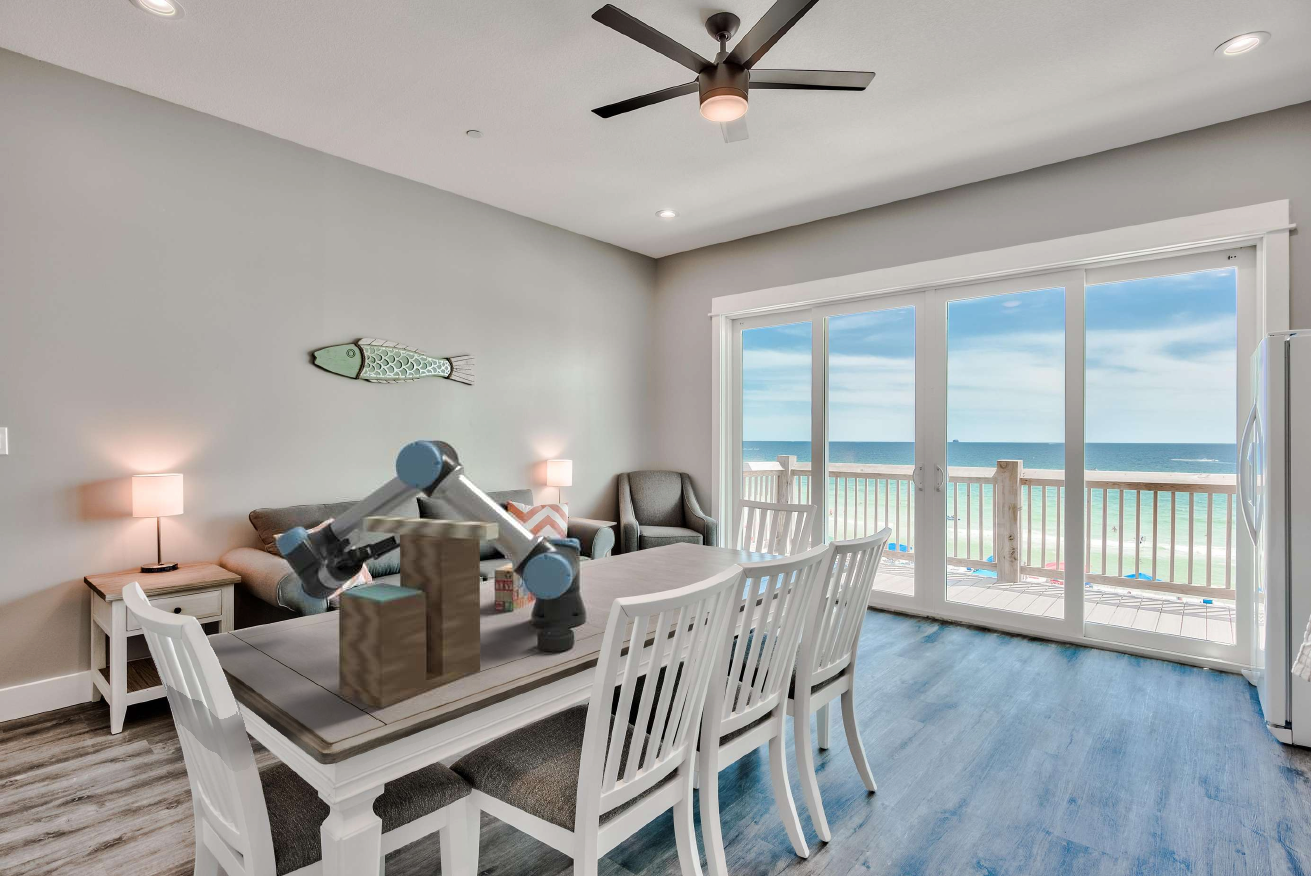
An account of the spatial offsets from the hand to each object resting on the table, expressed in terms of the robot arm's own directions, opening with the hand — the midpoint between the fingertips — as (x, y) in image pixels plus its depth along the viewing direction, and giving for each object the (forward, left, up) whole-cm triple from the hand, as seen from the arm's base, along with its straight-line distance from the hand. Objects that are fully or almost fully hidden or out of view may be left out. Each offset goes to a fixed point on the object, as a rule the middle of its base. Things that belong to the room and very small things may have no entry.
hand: (385, 530), depth 153 cm
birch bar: (-12, +11, +1) cm, 16 cm away
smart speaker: (-39, -2, -30) cm, 49 cm away
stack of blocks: (-27, -47, -30) cm, 62 cm away
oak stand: (-10, +17, -29) cm, 36 cm away
